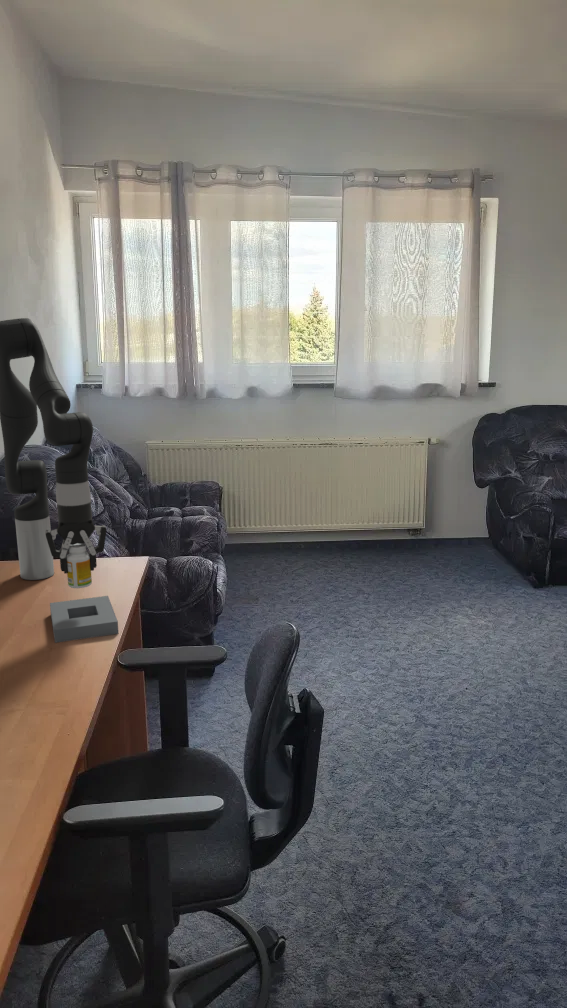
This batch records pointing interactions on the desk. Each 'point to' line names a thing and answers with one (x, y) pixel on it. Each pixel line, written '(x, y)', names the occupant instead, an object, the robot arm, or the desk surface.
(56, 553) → the robot arm
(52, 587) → the desk surface
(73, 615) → the socket holder
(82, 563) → the supplement bottle
